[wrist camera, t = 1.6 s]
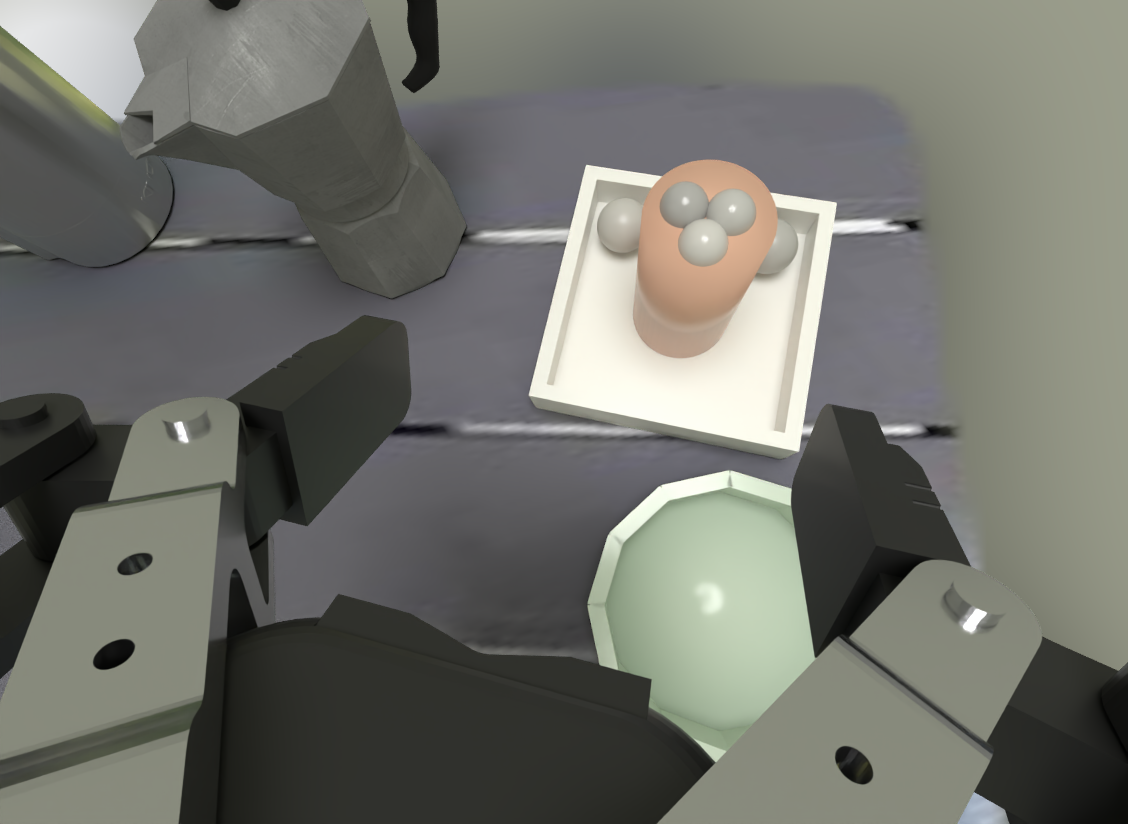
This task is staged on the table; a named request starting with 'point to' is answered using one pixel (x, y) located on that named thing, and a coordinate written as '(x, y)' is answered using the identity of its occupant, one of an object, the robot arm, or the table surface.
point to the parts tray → (697, 384)
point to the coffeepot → (303, 124)
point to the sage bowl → (705, 603)
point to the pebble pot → (699, 253)
